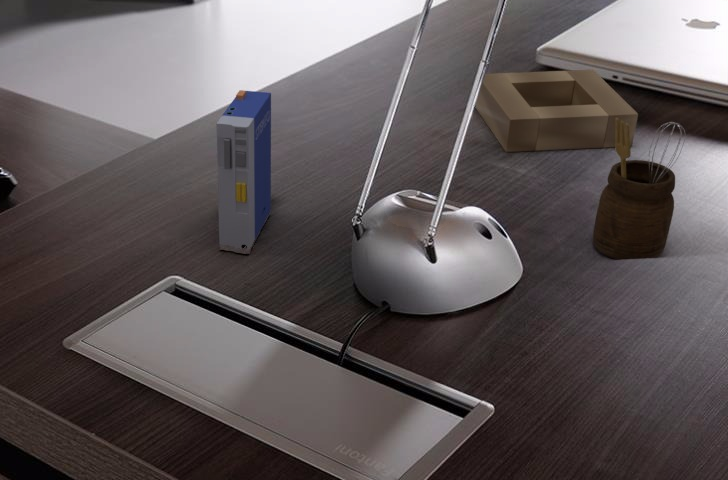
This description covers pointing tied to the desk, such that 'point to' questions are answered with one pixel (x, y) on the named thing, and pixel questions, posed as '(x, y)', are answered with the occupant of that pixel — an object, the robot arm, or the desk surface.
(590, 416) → the desk surface
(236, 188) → the blue grey plc module
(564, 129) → the socket pad
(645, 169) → the utensil holder
